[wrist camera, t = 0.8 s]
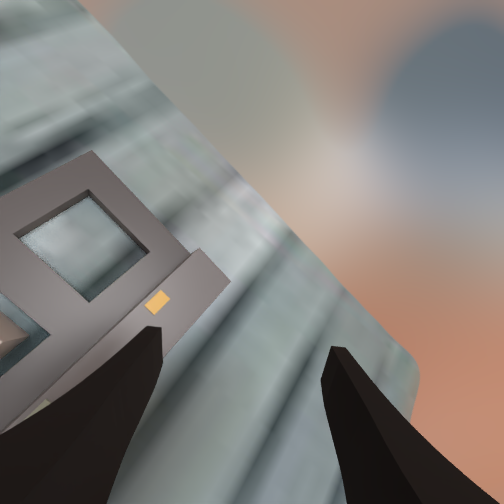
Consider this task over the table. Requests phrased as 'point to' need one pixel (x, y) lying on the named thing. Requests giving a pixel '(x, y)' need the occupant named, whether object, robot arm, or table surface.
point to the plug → (10, 335)
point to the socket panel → (106, 303)
